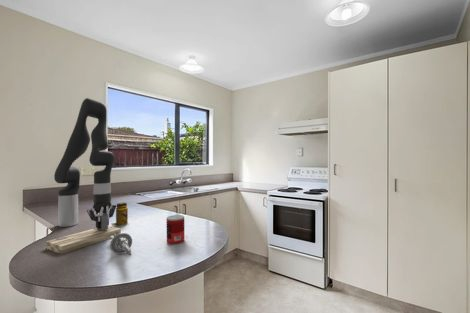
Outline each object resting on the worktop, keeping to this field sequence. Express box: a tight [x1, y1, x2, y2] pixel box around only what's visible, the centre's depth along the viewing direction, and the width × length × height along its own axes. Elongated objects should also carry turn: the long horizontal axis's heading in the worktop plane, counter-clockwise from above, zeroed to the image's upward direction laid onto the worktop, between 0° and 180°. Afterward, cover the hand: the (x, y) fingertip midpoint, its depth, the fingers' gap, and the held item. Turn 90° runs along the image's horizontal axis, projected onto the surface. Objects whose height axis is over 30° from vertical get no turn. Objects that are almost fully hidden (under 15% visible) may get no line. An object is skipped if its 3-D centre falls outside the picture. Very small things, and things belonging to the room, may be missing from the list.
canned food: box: [166, 214, 185, 245], centre depth 104 cm, size 8×8×11 cm
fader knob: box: [97, 213, 109, 231], centre depth 112 cm, size 4×3×8 cm
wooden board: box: [45, 225, 122, 255], centre depth 106 cm, size 12×26×3 cm, turn 152°
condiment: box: [111, 202, 130, 228], centre depth 133 cm, size 7×8×12 cm
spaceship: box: [108, 232, 133, 257], centre depth 92 cm, size 8×35×8 cm
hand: (102, 227), depth 112 cm, fingers closed on fader knob, 3 cm apart
